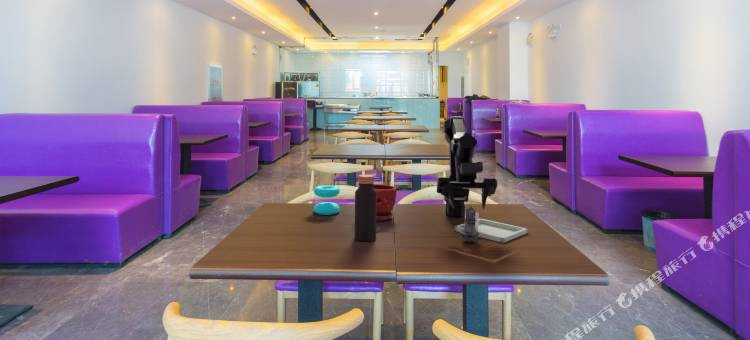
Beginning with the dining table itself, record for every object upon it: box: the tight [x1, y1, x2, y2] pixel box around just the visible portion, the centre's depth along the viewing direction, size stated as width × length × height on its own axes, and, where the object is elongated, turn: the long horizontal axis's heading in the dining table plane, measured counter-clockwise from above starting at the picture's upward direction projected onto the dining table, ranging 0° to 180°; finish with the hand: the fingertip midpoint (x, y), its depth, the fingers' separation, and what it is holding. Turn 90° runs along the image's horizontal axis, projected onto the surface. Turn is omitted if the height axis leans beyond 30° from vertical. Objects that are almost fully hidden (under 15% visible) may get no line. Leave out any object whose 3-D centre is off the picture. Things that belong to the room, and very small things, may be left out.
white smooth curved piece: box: [464, 211, 480, 231], centre depth 151 cm, size 4×4×6 cm
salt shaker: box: [459, 205, 480, 244], centre depth 138 cm, size 6×6×12 cm
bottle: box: [354, 174, 377, 243], centre depth 141 cm, size 7×7×20 cm
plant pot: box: [373, 183, 397, 222], centre depth 168 cm, size 13×13×12 cm
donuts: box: [313, 184, 341, 216], centre depth 175 cm, size 10×10×10 cm
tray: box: [453, 218, 529, 244], centre depth 151 cm, size 18×16×2 cm
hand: (468, 207), depth 141 cm, fingers open, 9 cm apart
